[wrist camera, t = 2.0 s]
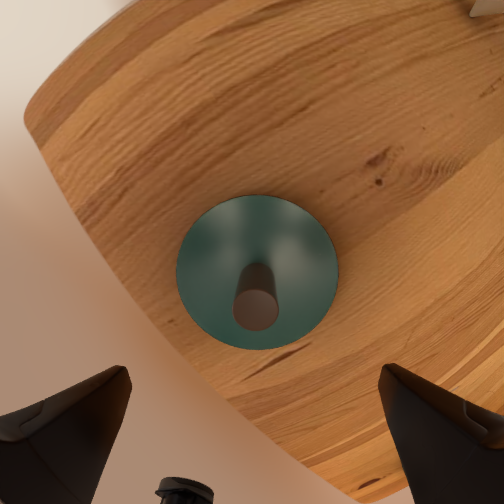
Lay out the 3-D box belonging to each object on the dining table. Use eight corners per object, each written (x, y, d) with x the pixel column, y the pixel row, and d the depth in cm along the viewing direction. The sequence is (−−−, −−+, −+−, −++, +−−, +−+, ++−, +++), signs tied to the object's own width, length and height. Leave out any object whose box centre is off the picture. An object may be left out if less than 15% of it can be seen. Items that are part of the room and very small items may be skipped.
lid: (234, 363, 22) (227, 415, 16) (151, 249, 20) (112, 274, 14) (359, 296, 20) (389, 335, 14) (284, 163, 18) (294, 153, 12)
